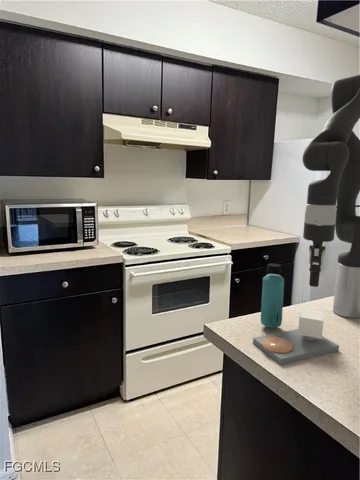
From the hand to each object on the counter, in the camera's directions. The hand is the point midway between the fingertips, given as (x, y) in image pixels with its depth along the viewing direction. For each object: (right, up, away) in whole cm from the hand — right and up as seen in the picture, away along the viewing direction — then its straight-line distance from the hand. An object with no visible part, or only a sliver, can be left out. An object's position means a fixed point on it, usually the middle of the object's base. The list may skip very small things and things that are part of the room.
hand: (314, 281), depth 92 cm
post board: (-5, -18, +1) cm, 19 cm away
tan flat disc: (-10, -17, -1) cm, 20 cm away
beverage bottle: (-8, -16, +13) cm, 22 cm away
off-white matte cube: (0, -14, +3) cm, 15 cm away
